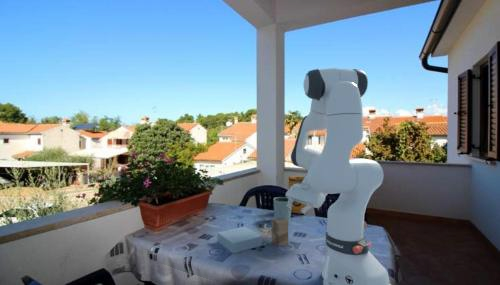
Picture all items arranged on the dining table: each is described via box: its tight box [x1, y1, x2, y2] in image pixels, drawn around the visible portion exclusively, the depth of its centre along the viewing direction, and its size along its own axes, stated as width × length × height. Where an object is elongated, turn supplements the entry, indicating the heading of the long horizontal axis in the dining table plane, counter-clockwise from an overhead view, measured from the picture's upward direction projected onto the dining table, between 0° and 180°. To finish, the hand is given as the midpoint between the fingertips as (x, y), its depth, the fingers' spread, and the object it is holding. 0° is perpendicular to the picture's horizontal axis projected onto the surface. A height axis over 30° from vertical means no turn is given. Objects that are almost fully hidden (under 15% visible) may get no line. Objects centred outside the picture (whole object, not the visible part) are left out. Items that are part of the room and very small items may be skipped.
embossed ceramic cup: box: [272, 196, 292, 224], centre depth 142 cm, size 10×10×12 cm
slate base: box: [217, 226, 263, 254], centre depth 112 cm, size 14×14×4 cm
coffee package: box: [288, 175, 309, 215], centre depth 158 cm, size 10×12×22 cm
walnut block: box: [271, 218, 289, 247], centre depth 113 cm, size 5×5×10 cm
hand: (295, 209), depth 117 cm, fingers open, 8 cm apart
